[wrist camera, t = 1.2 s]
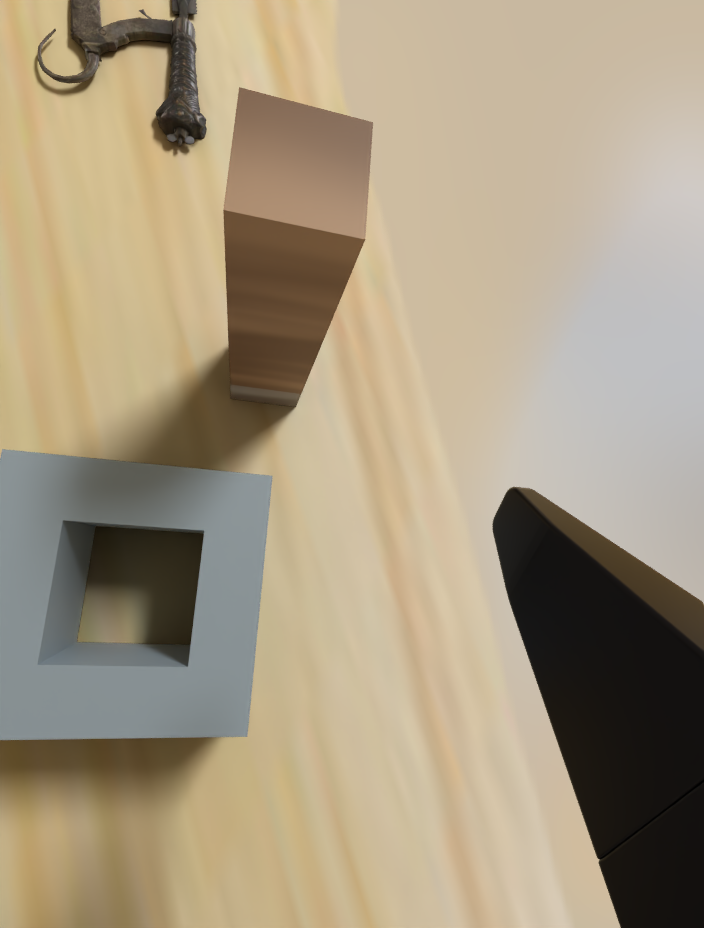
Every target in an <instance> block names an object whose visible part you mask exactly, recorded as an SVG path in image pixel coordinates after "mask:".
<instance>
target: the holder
mask: <svg viewBox="0 0 704 928" xmlns="http://www.w3.org/2000/svg"><path fill="white" fill-rule="evenodd" d="M271 485H272V476H268V475H258V474H248V473H238V472H228V471H218V470H208V469H197V468H187V467H177V466H167V465H157V464H147V463H137V462H126V461H116V460H106V459H96V458H86V457H76V456H66V455H55V454H45V453H35V452H25V451H15V450H5V449H2V453H1V458H0V740H42V739H115V738H189V737H247V734H248V723H249V713H250V703H251V692H252V682H253V671H254V661H255V651H256V640H257V630H258V620H259V609H260V599H261V589H262V578H263V568H264V557H265V547H266V537H267V526H268V516H269V506H270V495H271ZM96 526H105V527H119V528H133V529H147V530H161V531H175V532H189V533H203V534H204V538H203V546H202V555H201V563H200V571H199V579H198V588H197V596H196V604H195V613H194V621H193V629H192V638H191V645H175V644H135V643H95V642H77V638H78V632H79V625H80V619H81V613H82V607H83V601H84V595H85V588H86V582H87V576H88V570H89V564H90V558H91V551H92V545H93V539H94V533H95V527H96Z"/></svg>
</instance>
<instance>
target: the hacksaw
mask: <svg viewBox="0 0 704 928" xmlns="http://www.w3.org/2000/svg"><path fill="white" fill-rule="evenodd" d="M196 5H197V4H196V0H172V9H173V14H180V15H179V18H176V19H175V20H174V21H173V22H172V20H171V21H168V20H158V19H151V18H150V17H149V16H147V15H146V14H145V12H144V10H139V11H140V12H141V13H142V14H144V15H145V16H146V17H147V18H149V19H142V18H133V19H127V20H120V21H117V22H114V23H111V24H109V25H106V26H104V27H102V26H101V17H100V0H71V32H72V33H71V37H72V39H73V40H75V41H76V42H77V43H78V44H80V45H81V46H82V47H83V49H84V50H85V54H86V60H88V63H87V65H86V68H85V70H84V71H83V72H81V73H79V74H78V75H73V76H66V77H64V76H60V75H56V74H53V73H52V72H51V71H49V70H48V69H47V68H46V67H45V66H44V64H43V61H42V57H41V49H42V46H43V44H44V43H45V42H46V41H47V40H48V39H49V38H50V37H51V36H52V35H53V33H54V32H55V31H56V29H54V30H53V31H52V32H51V33H49V34H48V35H47V36H46V37H45V38H44V40H43V41H42V42H41V43H40V45H39V46H38V61H39V64H40V67H41V68H42V70H43V71H44V72H45V73H46V74H47V75H49V76H50V77H51V78H53V79H55V80H57V81H59V82H64V83H81V82H84V81H87V80H88V79H90V78H91V77H92V76H93V74H94V73H95V72H96V70H97V68H98V63H99V61H101V62H102V60H101V57H100V54H102V53H105V52H107V51H116V50H117V48H118V47H119V46H122V45H125V44H127V43H129V41H137V40H153V41H162V42H171V48H172V58H171V64H170V65H171V75H170V77H171V78H170V84H169V89H170V92H169V96H168V98H167V99H166V100H165V101H164V102H163V104H162V105H161V106H160V107H159V109H158V110H157V111H156V116H157V120H158V121H159V126H160V128H161V129H162V130H163V132H164V133H165V134H166V135H167V138H168V141H171V142H174V141H176V140H178V145H179V146H182V142H184V141H185V142H186V143H187V144H192V143H194V139H203V138H204V137H205V134H206V130H207V129H206V126H205V124H206V119H205V117H204V116H203V115H202V114H201V113H200V108H199V102H198V87H197V80H196V78H197V75H196V68H195V53H196V44H195V29H194V26H193V24H192V23H191V22H190V21H189V20H188V14H197V13H196V12H197V10H196V8H197V7H196Z"/></svg>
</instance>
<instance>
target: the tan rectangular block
mask: <svg viewBox="0 0 704 928" xmlns="http://www.w3.org/2000/svg"><path fill="white" fill-rule="evenodd" d="M372 129H373V122H369V121H366V120H361V119H358V118H354V117H350V116H346V115H343V114H339V113H335V112H331V111H327V110H324V109H320V108H316V107H312V106H308V105H304V104H301V103H297V102H293V101H289V100H285V99H282V98H278V97H274V96H270V95H266V94H263V93H259V92H255V91H251V90H247V89H243V88H240V87H239V94H238V101H237V109H236V117H235V125H234V132H233V140H232V148H231V156H230V163H229V171H228V179H227V187H226V194H225V202H224V236H225V262H226V288H227V314H228V341H229V367H230V393H231V399H237V400H245V401H253V402H260V403H268V404H276V405H284V406H291V407H296V405H297V403H298V400H299V398H300V395H301V393H302V391H303V388H304V386H305V383H306V381H307V379H308V376H309V374H310V371H311V369H312V366H313V364H314V362H315V359H316V357H317V354H318V352H319V350H320V347H321V345H322V342H323V340H324V338H325V335H326V333H327V330H328V328H329V325H330V323H331V321H332V318H333V316H334V313H335V311H336V309H337V306H338V304H339V301H340V299H341V297H342V294H343V292H344V289H345V287H346V284H347V282H348V280H349V277H350V275H351V272H352V270H353V268H354V265H355V263H356V260H357V258H358V256H359V253H360V251H361V248H362V246H363V243H364V241H365V234H366V219H367V204H368V189H369V174H370V158H371V144H372Z"/></svg>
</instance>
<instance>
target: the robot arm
mask: <svg viewBox="0 0 704 928" xmlns="http://www.w3.org/2000/svg"><path fill="white" fill-rule="evenodd" d="M493 534H494V538H495V543H496V547H497V552H498V556H499V560H500V565H501V569H502V573H503V578H504V582H505V587H506V591H507V594H508V598H509V602H510V605H511V608H512V611H513V614H514V617H515V620H516V623H517V626H518V628H519V631H520V634H521V637H522V640H523V643H524V646H525V649H526V652H527V655H528V658H529V661H530V663H531V666H532V669H533V672H534V675H535V678H536V681H537V684H538V687H539V690H540V692H541V695H542V698H543V701H544V704H545V707H546V710H547V713H548V716H549V719H550V722H551V725H552V727H553V730H554V733H555V736H556V739H557V742H558V745H559V748H560V751H561V754H562V757H563V760H564V762H565V765H566V768H567V771H568V774H569V777H570V780H571V783H572V785H573V789H574V792H575V794H576V797H577V800H578V803H579V806H580V809H581V812H582V815H583V818H584V821H585V823H586V826H587V830H588V832H589V835H590V838H591V841H592V844H593V847H594V850H595V853H596V856H597V858H598V859H600V860H599V866H600V868H601V871H602V874H603V877H604V880H605V883H606V886H607V889H608V891H609V895H610V898H611V900H612V903H613V906H614V909H615V912H616V915H617V918H618V921H619V924H620V927H621V928H704V604H703V602H702V601H700V600H699V599H697V598H696V597H694V596H693V595H691V594H690V593H688V592H687V591H685V590H684V589H682V588H681V587H679V586H678V585H676V584H675V583H673V582H672V581H670V580H669V579H667V578H666V577H664V576H663V575H661V574H660V573H658V572H657V571H655V570H653V569H652V568H651V567H649V566H648V565H646V564H645V563H643V562H642V561H640V560H639V559H637V558H636V557H634V556H632V555H631V554H630V553H628V552H627V551H625V550H624V549H622V548H620V547H619V546H617V545H616V544H614V543H613V542H611V541H610V540H608V539H607V538H605V537H604V536H602V535H601V534H599V533H598V532H596V531H595V530H593V529H592V528H590V527H589V526H587V525H586V524H584V523H583V522H581V521H580V520H578V519H577V518H575V517H573V516H572V515H571V514H569V513H567V512H566V511H565V510H563V509H562V508H560V507H559V506H557V505H555V504H554V503H552V502H551V501H550V500H548V499H547V498H545V497H543V496H542V495H540V494H539V493H537V492H536V491H534V490H532V489H530V488H521V487H512V488H510V489H509V490H508V491H507V492H506V494H505V497H504V498H503V501H502V502H501V504H500V507H499V509H498V511H497V513H496V515H495V517H494V520H493Z"/></svg>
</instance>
